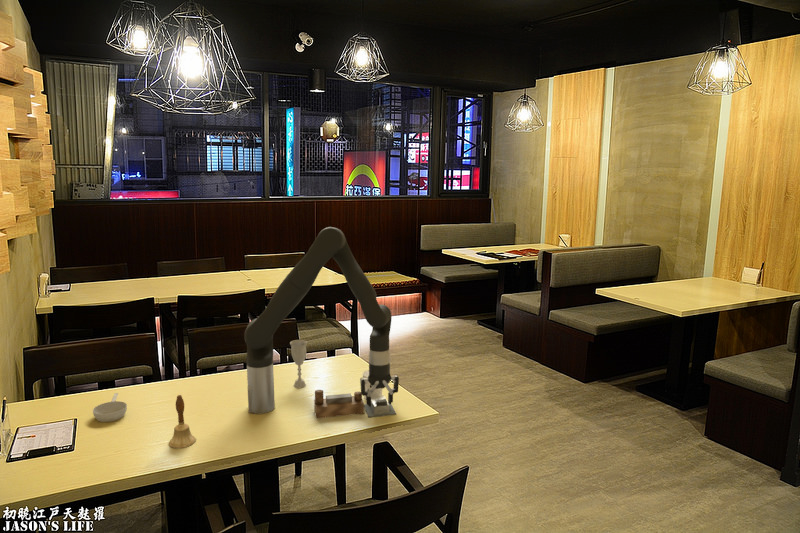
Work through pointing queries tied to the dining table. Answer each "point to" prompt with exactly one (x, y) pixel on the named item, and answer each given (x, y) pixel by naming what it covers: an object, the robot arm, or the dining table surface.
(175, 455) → the dining table surface
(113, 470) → the dining table surface
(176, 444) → the hand bell
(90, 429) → the dining table surface
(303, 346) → the chalice
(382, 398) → the lever cap
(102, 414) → the pan
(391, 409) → the slate mat
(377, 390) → the white cup
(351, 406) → the plane body
